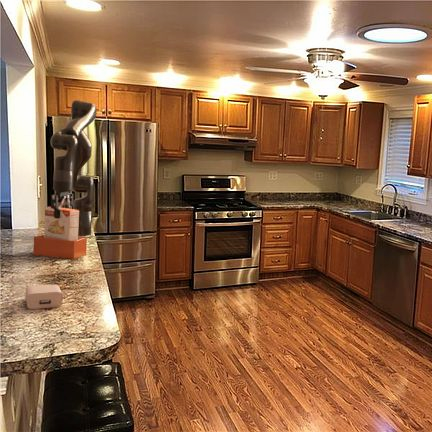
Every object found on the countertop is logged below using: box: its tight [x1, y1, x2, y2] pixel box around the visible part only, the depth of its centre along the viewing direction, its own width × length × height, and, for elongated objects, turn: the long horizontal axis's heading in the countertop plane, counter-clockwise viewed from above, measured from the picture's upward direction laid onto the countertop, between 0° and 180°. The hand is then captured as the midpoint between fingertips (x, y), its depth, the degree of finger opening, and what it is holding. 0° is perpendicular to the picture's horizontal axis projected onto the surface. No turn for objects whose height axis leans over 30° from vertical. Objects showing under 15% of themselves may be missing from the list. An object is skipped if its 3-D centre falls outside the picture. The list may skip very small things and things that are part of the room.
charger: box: [25, 283, 63, 310], centre depth 145 cm, size 5×9×15 cm
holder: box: [32, 233, 88, 260], centre depth 207 cm, size 11×19×8 cm, turn 85°
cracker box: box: [43, 206, 79, 241], centre depth 206 cm, size 14×6×21 cm, turn 71°
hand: (61, 217), depth 205 cm, fingers closed on cracker box, 6 cm apart
